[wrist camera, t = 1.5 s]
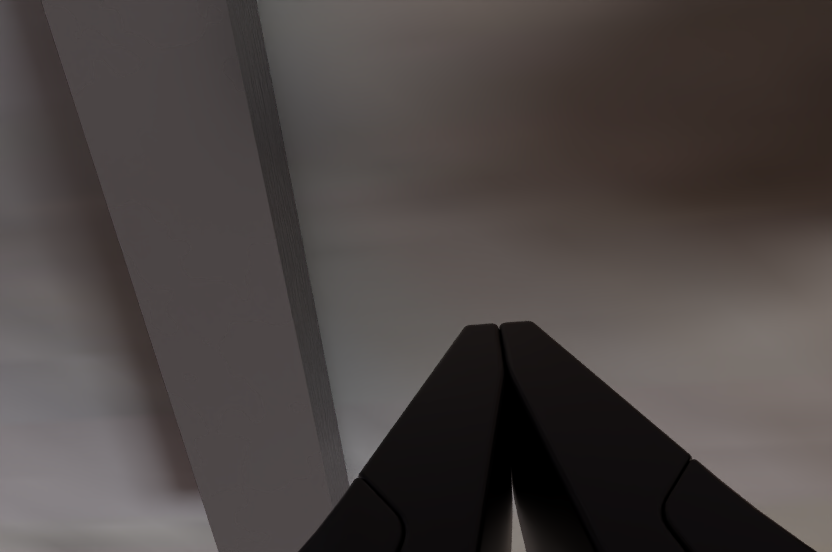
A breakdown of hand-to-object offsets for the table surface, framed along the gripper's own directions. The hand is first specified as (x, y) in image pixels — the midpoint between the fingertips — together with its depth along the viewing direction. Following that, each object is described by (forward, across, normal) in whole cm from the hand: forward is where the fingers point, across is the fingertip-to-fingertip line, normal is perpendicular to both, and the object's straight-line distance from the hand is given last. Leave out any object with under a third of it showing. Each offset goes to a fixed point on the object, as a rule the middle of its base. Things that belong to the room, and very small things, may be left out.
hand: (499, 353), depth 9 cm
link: (+11, +7, +1) cm, 13 cm away
